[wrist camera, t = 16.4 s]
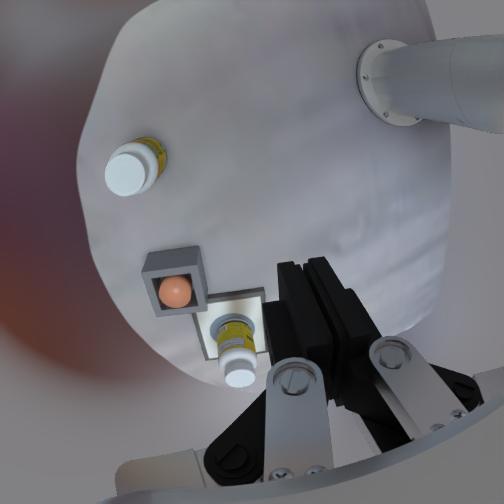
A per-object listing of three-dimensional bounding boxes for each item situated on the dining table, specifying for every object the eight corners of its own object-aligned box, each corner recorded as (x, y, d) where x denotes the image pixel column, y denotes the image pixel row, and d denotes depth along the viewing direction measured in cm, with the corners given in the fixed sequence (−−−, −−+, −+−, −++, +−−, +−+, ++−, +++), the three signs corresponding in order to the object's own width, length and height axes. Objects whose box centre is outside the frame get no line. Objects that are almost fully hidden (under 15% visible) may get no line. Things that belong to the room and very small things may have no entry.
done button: (188, 266, 36) (187, 279, 34) (194, 292, 38) (193, 306, 36) (158, 270, 36) (155, 283, 33) (166, 295, 38) (163, 309, 35)
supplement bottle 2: (252, 339, 45) (261, 388, 36) (219, 344, 45) (222, 392, 36) (250, 314, 43) (259, 364, 34) (214, 319, 42) (216, 369, 34)
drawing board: (263, 287, 42) (264, 292, 41) (268, 347, 48) (269, 353, 47) (188, 297, 41) (188, 302, 40) (205, 356, 48) (205, 361, 46)
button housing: (198, 245, 38) (197, 264, 33) (207, 289, 41) (207, 311, 37) (148, 253, 37) (141, 272, 33) (161, 295, 41) (156, 317, 36)
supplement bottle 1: (119, 170, 32) (90, 191, 23) (135, 130, 30) (108, 137, 21) (157, 186, 34) (139, 212, 25) (175, 146, 32) (161, 159, 23)
